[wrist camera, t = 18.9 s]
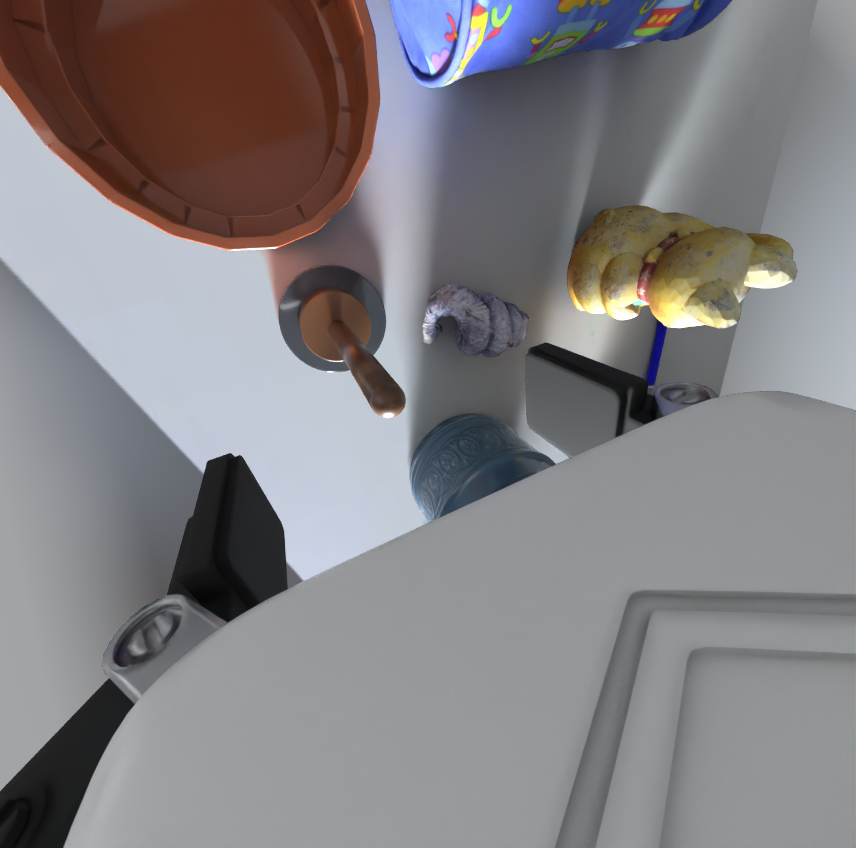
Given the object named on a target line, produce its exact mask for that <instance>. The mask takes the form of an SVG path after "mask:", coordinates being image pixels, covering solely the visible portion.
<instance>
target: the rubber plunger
mask: <svg viewBox="0 0 856 848" xmlns="http://www.w3.org/2000/svg"><path fill="white" fill-rule="evenodd" d="M299 328H300V331H301V335H302V338H303V340H304V342H305V344H306V345H307V347H308V348H309V349H310V350H311V351H312V352H313V353H314V354H316V355H317V356H319V357H321V358H323V359H325V360H329V361H345V362H346V364H347V366H348V368H349V369H350V371H351V373H352V375H353V376H354V378H355V380H356V381H357V383H358V385H359V387H360V388H361V390H362V392H363V394H364V395H365V397H366V399H367V401H368V402H369V404H370V406H371V408H372V409H373V411H374V412H375V413H376V414H377V415H379V416H381V417H384V418H392V417H395V416H397V415H399V414H400V413H401V412H402V410H403V409H404V407H405V403H406V398H405V394H404V392H403V390H402V389H401V388H400V387H399V385H398V384H397V383H396V382H395V381H394V379H393V378H392V377H391V376H390V375H389V374H388V372H387V371H386V370H385V369H384V368H383V366H382V365H381V364H380V363H379V362H378V361H377V359H376V358H375V357H374V356H373V355H372V354H371V352H370V351H369V350H368V349H367V348H366V345H367V343H368V341H369V338H370V334H371V321H370V317H369V314H368V312H367V310H366V308H365V307H364V305H363V304H362V303H361V302H360V301H359V300H358V299H357V298H355V297H354V296H352V295H351V294H349V293H348V292H346V291H344V290H341V289H337V288H323V289H320V290H317V291H315V292H313V293H312V294H311V295H309V296H308V297H307V298H306V300H305V301H304V302H303V304H302V306H301V308H300V312H299Z"/></svg>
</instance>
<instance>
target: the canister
mask: <svg viewBox="0 0 856 848" xmlns="http://www.w3.org/2000/svg"><path fill="white" fill-rule="evenodd" d="M554 465H556V464H555V463H554V462H553V461H552V460H551V459H550V458H549V457H548V456H546V455H544V454H542V453H540V452H538V451H537V450H535V449H534V448H533V447H532V446H531V445H529V444H528V443H527V442H526V441H524V440H523V439H522V438H521V437H519V435H518V434H517V433H516V432H515V431H514V430H513V429H512V428H511V427H510V426H508V425H507V424H506V423H504V422H502V421H501V420H498V419H496V418H493V417H491V416H488V415H483V414H466V415H462V416H458V417H455V418H453V419H451V420H448V421H447V422H445V423H443V424H441V425H440V426H438V427H437V428H436V429H435V430H433V431H432V432H431V433H430V434H429V435H428V436H427V437H426V438H425V439H424V441H423V442H422V443H421V445H420V446H419V448H418V449H417V451H416V453H415V455H414V458H413V460H412V464H411V468H410V484H411V488H412V493H413V497H414V499H415V501H416V503H417V505H418V507H419V509H420V510H421V511H422V513H423V514H424V515H425V516H426V518H427V520H428V522H431V521H434V520H436V519H438V518H440V517H442V516H445V515H447V514H449V513H451V512H453V511H455V510H458V509H460V508H462V507H464V506H466V505H469V504H471V503H473V502H475V501H477V500H479V499H482V498H484V497H486V496H488V495H490V494H493V493H495V492H497V491H499V490H501V489H503V488H506V487H508V486H510V485H512V484H514V483H517V482H519V481H521V480H523V479H525V478H528V477H530V476H532V475H534V474H536V473H539V472H541V471H543V470H545V469H547V468H550V467H552V466H554Z"/></svg>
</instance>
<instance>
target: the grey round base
mask: <svg viewBox="0 0 856 848" xmlns="http://www.w3.org/2000/svg"><path fill="white" fill-rule="evenodd" d="M323 288H337V289H341V290H344V291H346V292H348V293H349V294H351V295H352V296H354V297H355V298H357V299H358V300H359V301H360V302H361V303H362V304H363V305H364V307H365V308H366V310H367V312H368V314H369V317H370V321H371V334H370V338H369V341H368V343H367V345H366V348H367V349H368V350H369V351H370V352H371V354H372V355H374V354H375V353H376V351H377V350H378V348H379V347H380V345H381V342H382V340H383V337H384V333H385V328H386V315H385V309H384V306H383V303H382V300H381V298H380V296H379V294H378V293H377V291H376V289H375V288H374V287H373V286H372V284H371V283H370V282H369V281H368V280H367V279H365V278H364V277H363V276H361V275H360V274H358V273H356V272H355V271H353V270H350V269H348V268H345V267H341V266H335V265H322V266H316V267H313V268H310V269H308V270H306V271H304V272H302V273H301V274H299V275H298V276H297V277H295V278H294V279H293V280H292V281H291V283H290V284H289V285H288V286H287V288H286V290H285V292H284V293H283V296H282V299H281V302H280V307H279V324H280V329H281V332H282V335H283V338H284V340H285V342H286V344H287V345H288V347H289V349H290V350H291V351H292V352H293V353H294V355H295V356H296V357H298V358H299V359H300V360H301V361H302V362H304V363H305V364H307V365H309V366H311V367H313V368H315V369H318V370H322V371H326V372H345V371H349V370H350V369H349V368H348V366H347V364H346V362H345V361H329V360H325V359H323V358H321V357H319V356H317V355H316V354H314V353H313V352H312V351H311V350H310V349H309V348H308V347H307V345H306V344H305V342H304V340H303V338H302V335H301V331H300V328H299V312H300V308H301V306H302V304H303V302H304V301H305V300H306V298H307V297H308V296H309V295H311V294H312V293H313V292H315V291H317V290H320V289H323Z"/></svg>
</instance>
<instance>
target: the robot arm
mask: <svg viewBox="0 0 856 848" xmlns="http://www.w3.org/2000/svg"><path fill="white" fill-rule="evenodd" d="M525 385H526V415H527V423H528V426H529V427H530V429H531V430H533V431H534V432H535V433H537V434H538V435H540V436H541V437H542V438H544V439H545V440H547V441H548V442H549V443H551V444H552V445H553V446H555V447H556V448H558V449H559V450H560V451H562V452H563V453H564V454H566V455H567V456H569V457H570V459H567V460H565V461H563V462H561V463H558V464H556V465H554V466H552V467H550V468H547V469H545V470H543V471H541V472H539V473H536V474H534V475H532V476H530V477H528V478H525V479H523V480H521V481H519V482H517V483H514V484H512V485H510V486H508V487H506V488H503V489H501V490H499V491H497V492H495V493H493V494H490V495H488V496H486V497H484V498H482V499H479V500H477V501H475V502H473V503H471V504H469V505H466V506H464V507H462V508H460V509H458V510H455V511H453V512H451V513H449V514H447V515H445V516H442V517H440V518H438V519H436V520H434V521H431V522H429V523H427V524H425V525H423V526H421V527H419V528H416V529H414V530H412V531H410V532H408V533H406V534H403V535H401V536H399V537H397V538H395V539H393V540H390V541H388V542H386V543H384V544H382V545H380V546H378V547H375V548H373V549H371V550H369V551H367V552H365V553H362V554H360V555H358V556H356V557H354V558H352V559H349V560H347V561H345V562H343V563H341V564H339V565H336V566H334V567H332V568H330V569H328V570H326V571H323V572H321V573H319V574H317V575H315V576H313V577H311V578H309V579H307V580H305V581H303V582H302V583H299V584H297V585H295V586H293V587H291V588H289V589H288V588H287V572H286V554H285V538H284V529H283V526H282V523H281V521H280V519H279V518H278V516H277V514H276V513H275V511H274V509H273V508H272V506H271V504H270V502H269V501H268V499H267V497H266V496H265V494H264V492H263V491H262V489H261V487H260V486H259V484H258V482H257V480H256V479H255V477H254V475H253V474H252V472H251V470H250V469H249V467H248V465H247V464H246V462H245V460H244V459H243V457H242V456H240V455H239V456H236V457H234V456H233V455H232V454H231V453H229V454H226V455H223V456H221V457H218V458H215V459H212V460H209V461H208V462H207V465H206V469H205V472H204V476H203V480H202V484H201V488H200V491H199V495H198V499H197V503H196V507H195V510H194V514H193V517H191V518H189V520H188V522H187V525H186V528H185V532H184V535H183V539H182V543H181V546H180V550H179V553H178V557H177V561H176V564H175V568H174V571H173V575H172V579H171V582H170V586H169V590H168V593H167V596H165V597H162V598H160V599H157V600H155V601H153V602H151V603H150V604H148V605H146V606H144V607H143V608H141V609H140V610H139V611H138V612H137V613H135V614H134V615H133V616H131V617H130V618H129V619H128V620H127V621H126V622H125V623H124V624H123V625H122V626H121V627H120V628H119V630H118V631H117V632H116V633H115V635H114V636H113V638H112V639H111V640H110V642H109V644H108V646H107V648H106V650H105V652H104V654H103V661H102V667H103V670H104V672H105V674H106V675H107V676H108V677H109V679H108V680H107V681H106V682H105V683H104V684H103V685H102V686H101V687H100V688H99V689H98V690H97V691H96V692H95V693H94V694H93V695H92V696H91V697H90V699H89V700H88V701H87V702H86V703H85V704H84V705H83V706H82V707H81V708H80V709H79V710H78V711H77V712H76V713H75V714H74V715H73V716H72V717H71V718H70V720H68V721H67V722H66V723H65V724H64V726H63V727H62V728H61V729H60V730H59V731H58V732H57V733H56V734H55V735H54V736H53V737H52V738H51V739H50V740H49V741H48V742H47V743H46V744H45V745H44V746H43V747H42V749H40V750H39V752H38V753H37V754H36V755H35V756H34V757H33V758H32V759H31V760H30V761H29V762H28V763H27V764H26V765H25V766H24V767H23V768H22V769H21V770H20V771H19V772H18V773H17V774H16V776H14V777H13V779H12V780H11V781H10V782H9V783H8V784H7V785H6V786H5V787H4V788H3V789H2V790H1V791H0V848H856V410H853V409H850V408H846V407H842V406H839V405H835V404H831V403H828V402H825V401H821V400H817V399H813V398H810V397H806V396H802V395H798V394H793V393H788V392H780V391H760V392H746V393H738V394H732V395H727V396H722V397H719V396H718V395H717V394H716V393H715V392H714V391H713V390H712V389H710V388H708V387H706V386H702V385H699V384H695V383H689V382H670V383H665V384H661V385H659V386H657V387H656V388H655V389H654V391H653V395H650V394H648V393H647V390H648V385H649V381H648V380H645V379H643V378H640V377H637V376H635V375H632V374H629V373H627V372H624V371H621V370H619V369H616V368H613V367H611V366H608V365H605V364H603V363H600V362H597V361H595V360H592V359H589V358H587V357H584V356H581V355H579V354H576V353H573V352H571V351H568V350H565V349H563V348H560V347H557V346H555V345H552V344H549V343H543V344H540V345H537V346H534V347H531V348H530V349H529V350H528V353H527V354H526V355H525Z"/></svg>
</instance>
